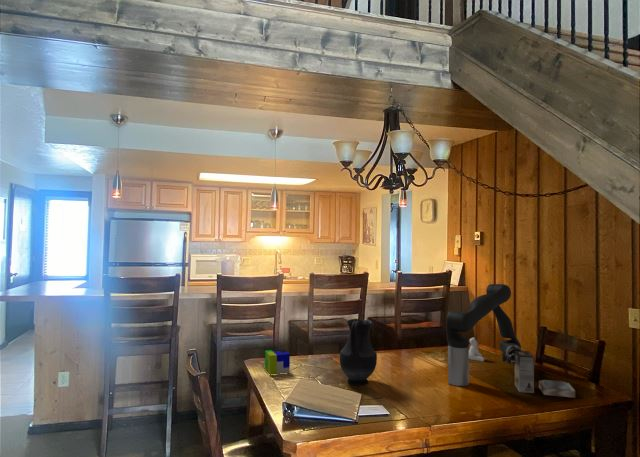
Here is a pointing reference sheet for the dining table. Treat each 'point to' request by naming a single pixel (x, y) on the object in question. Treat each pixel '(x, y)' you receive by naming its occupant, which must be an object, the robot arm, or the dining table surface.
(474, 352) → the seated beast figurine
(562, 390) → the plinth
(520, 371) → the coffee box
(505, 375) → the dining table surface
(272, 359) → the puzzle toy
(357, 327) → the pitcher
